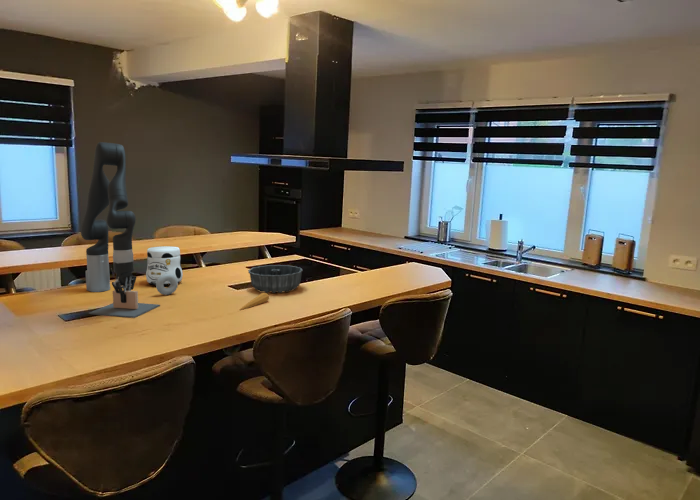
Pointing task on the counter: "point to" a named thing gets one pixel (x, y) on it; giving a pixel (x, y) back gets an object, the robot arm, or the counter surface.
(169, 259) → the milk container
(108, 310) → the mat
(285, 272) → the bundt pan
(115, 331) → the counter surface
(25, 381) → the counter surface
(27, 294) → the counter surface
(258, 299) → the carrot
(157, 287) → the donut
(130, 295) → the tile
